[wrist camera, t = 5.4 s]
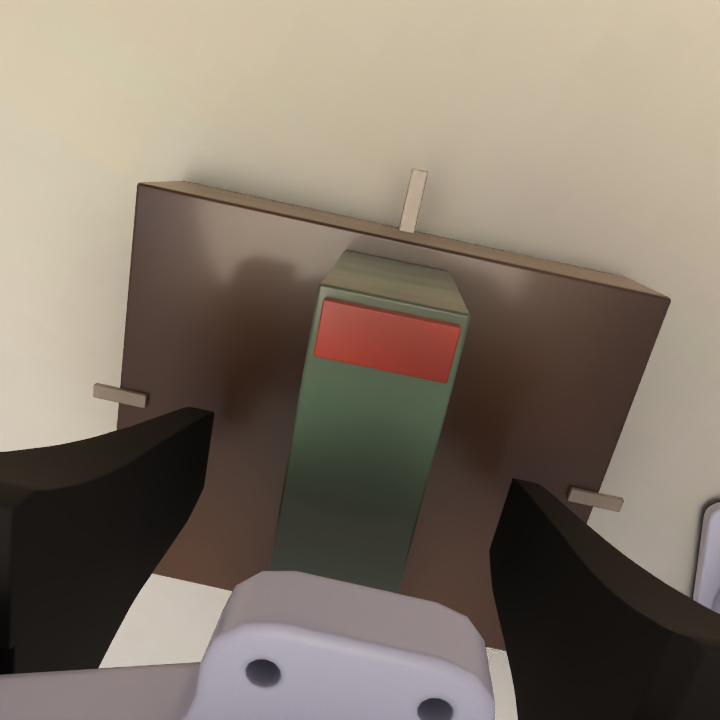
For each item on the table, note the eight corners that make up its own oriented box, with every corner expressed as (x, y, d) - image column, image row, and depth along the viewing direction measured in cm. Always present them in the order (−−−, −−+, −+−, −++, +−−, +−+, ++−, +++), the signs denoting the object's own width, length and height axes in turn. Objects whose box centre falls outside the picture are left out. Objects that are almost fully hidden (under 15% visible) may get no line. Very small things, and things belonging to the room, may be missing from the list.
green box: (368, 608, 17) (356, 764, 13) (281, 590, 17) (237, 738, 13) (450, 271, 14) (473, 317, 10) (344, 249, 14) (316, 285, 10)
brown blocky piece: (668, 225, 16) (728, 237, 13) (521, 631, 21) (541, 709, 18) (166, 116, 16) (112, 104, 13) (125, 544, 21) (78, 607, 18)
